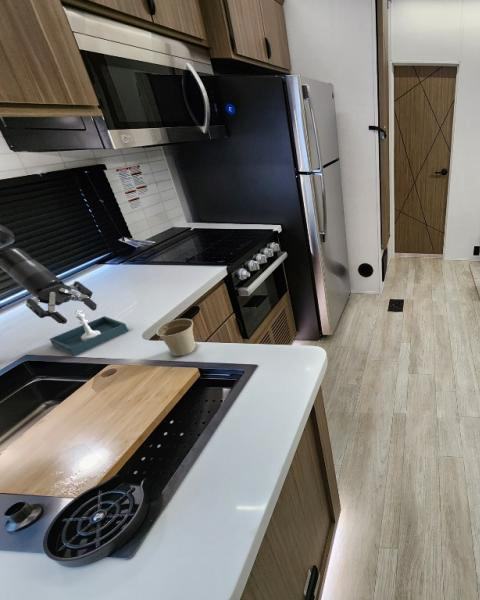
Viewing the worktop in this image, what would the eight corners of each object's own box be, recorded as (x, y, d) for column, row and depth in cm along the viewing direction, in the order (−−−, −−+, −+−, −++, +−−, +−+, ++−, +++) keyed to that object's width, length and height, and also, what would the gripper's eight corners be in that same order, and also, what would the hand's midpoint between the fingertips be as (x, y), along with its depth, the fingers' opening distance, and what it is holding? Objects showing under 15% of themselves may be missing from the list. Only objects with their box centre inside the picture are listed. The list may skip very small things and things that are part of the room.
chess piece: (77, 339, 106) (62, 312, 101) (93, 331, 110) (79, 305, 105) (89, 341, 105) (74, 314, 100) (104, 333, 109) (91, 306, 104)
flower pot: (186, 361, 96) (176, 337, 92) (158, 358, 98) (147, 334, 94) (208, 343, 105) (200, 319, 101) (182, 340, 106) (173, 317, 102)
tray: (74, 356, 99) (69, 348, 98) (53, 346, 104) (49, 338, 103) (128, 330, 111) (125, 323, 110) (107, 322, 116) (104, 316, 115)
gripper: (7, 280, 93) (56, 320, 95) (64, 262, 105) (106, 298, 108) (5, 295, 96) (52, 333, 99) (60, 276, 109) (101, 310, 111)
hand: (80, 315), depth 103 cm, fingers open, 8 cm apart
